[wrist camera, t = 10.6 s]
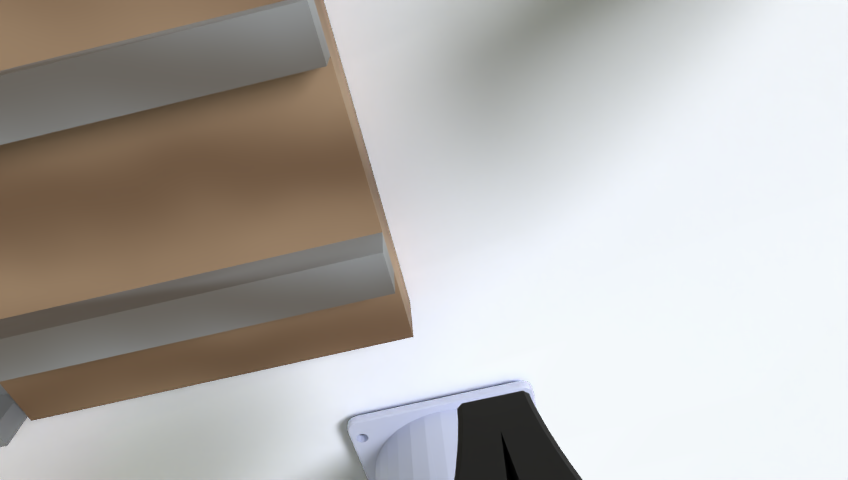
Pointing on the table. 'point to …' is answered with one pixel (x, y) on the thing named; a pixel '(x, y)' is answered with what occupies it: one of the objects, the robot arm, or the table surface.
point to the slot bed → (181, 199)
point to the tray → (9, 417)
